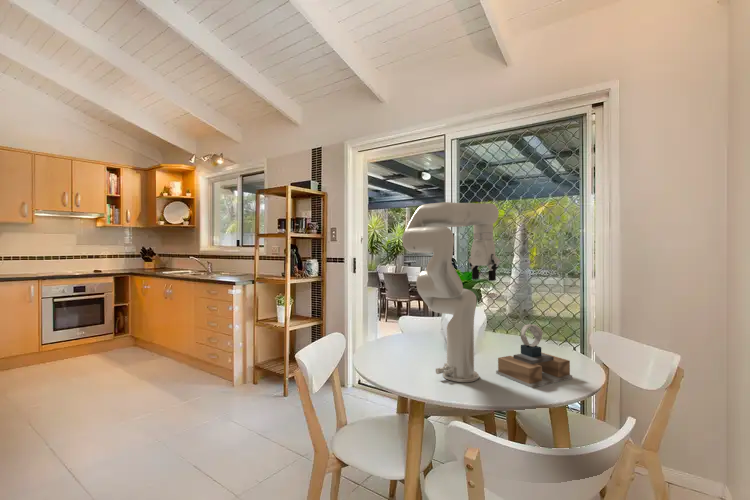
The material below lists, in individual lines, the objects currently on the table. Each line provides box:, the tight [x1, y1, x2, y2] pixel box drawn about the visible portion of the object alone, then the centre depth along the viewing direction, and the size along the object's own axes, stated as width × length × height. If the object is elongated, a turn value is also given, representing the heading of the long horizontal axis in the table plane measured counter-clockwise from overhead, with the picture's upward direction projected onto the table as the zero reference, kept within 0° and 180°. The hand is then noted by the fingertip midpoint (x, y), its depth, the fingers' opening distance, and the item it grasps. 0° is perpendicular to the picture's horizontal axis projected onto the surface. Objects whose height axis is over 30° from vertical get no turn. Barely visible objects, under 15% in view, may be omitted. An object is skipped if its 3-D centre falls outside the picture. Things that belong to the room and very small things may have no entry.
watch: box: [520, 323, 544, 357], centre depth 135 cm, size 6×8×11 cm
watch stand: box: [495, 351, 573, 389], centre depth 133 cm, size 20×16×7 cm
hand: (483, 279), depth 151 cm, fingers open, 9 cm apart
